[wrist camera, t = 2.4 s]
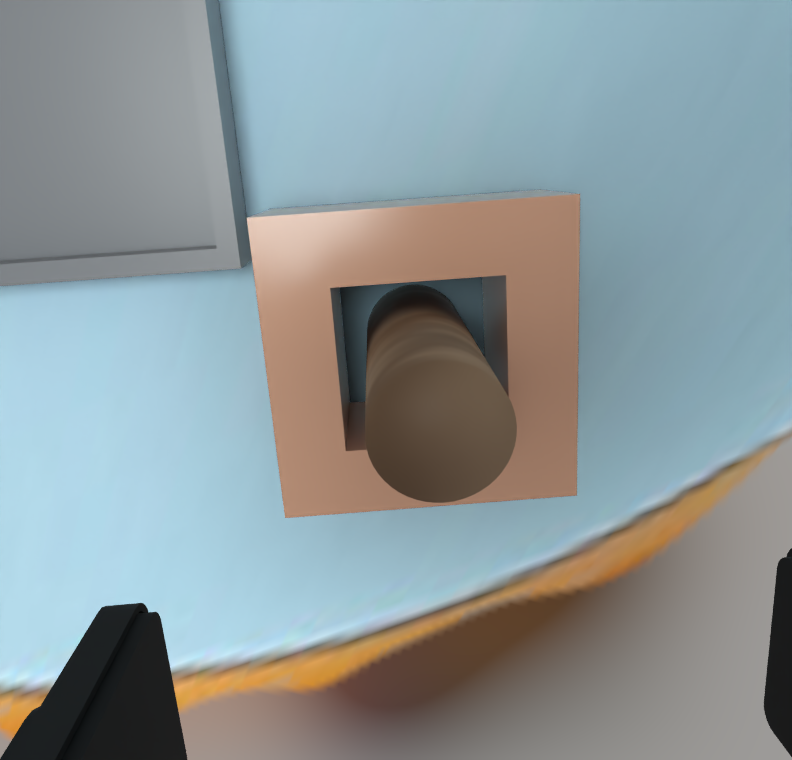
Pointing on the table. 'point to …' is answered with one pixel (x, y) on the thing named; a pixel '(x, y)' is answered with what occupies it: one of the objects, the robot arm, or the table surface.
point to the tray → (116, 141)
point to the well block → (411, 262)
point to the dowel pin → (432, 400)
